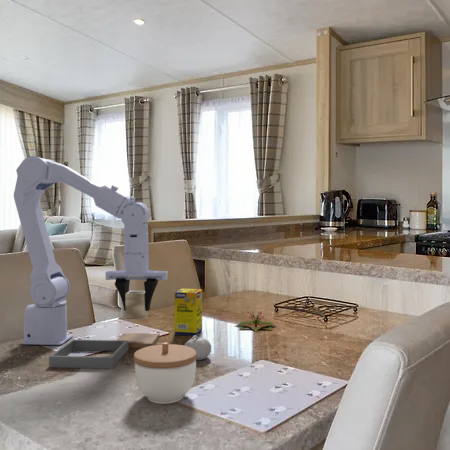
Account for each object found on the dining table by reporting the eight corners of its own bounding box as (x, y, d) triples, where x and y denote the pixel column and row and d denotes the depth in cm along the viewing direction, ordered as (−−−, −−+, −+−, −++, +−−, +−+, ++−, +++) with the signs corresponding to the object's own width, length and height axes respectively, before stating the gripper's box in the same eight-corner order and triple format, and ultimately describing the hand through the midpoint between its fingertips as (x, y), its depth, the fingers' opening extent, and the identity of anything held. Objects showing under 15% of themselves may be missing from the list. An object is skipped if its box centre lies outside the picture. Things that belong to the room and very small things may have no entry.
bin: (49, 367, 105) (49, 356, 105) (72, 349, 118) (72, 339, 118) (112, 368, 104) (112, 357, 104) (128, 350, 117) (128, 340, 117)
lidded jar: (136, 387, 94) (136, 335, 93) (196, 385, 94) (195, 334, 94) (131, 410, 83) (130, 353, 82) (197, 408, 84) (197, 351, 83)
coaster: (113, 347, 119) (113, 343, 119) (123, 337, 128) (123, 333, 128) (152, 347, 119) (152, 343, 119) (159, 337, 128) (159, 333, 128)
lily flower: (277, 323, 145) (277, 307, 145) (279, 334, 133) (279, 316, 133) (234, 323, 146) (234, 306, 145) (232, 333, 134) (232, 315, 133)
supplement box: (197, 336, 129) (196, 292, 129) (174, 334, 130) (173, 291, 130) (202, 330, 135) (202, 288, 135) (180, 329, 136) (180, 288, 136)
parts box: (125, 319, 121) (125, 293, 121) (130, 315, 125) (130, 290, 125) (144, 319, 121) (143, 293, 121) (148, 315, 125) (147, 290, 125)
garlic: (190, 364, 107) (190, 339, 106) (180, 357, 111) (180, 333, 111) (216, 360, 109) (216, 336, 109) (205, 353, 114) (205, 330, 114)
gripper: (101, 254, 119) (102, 313, 120) (163, 254, 118) (164, 313, 119) (110, 251, 126) (110, 307, 127) (169, 251, 125) (169, 307, 126)
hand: (137, 310), depth 123 cm, fingers closed on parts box, 4 cm apart
